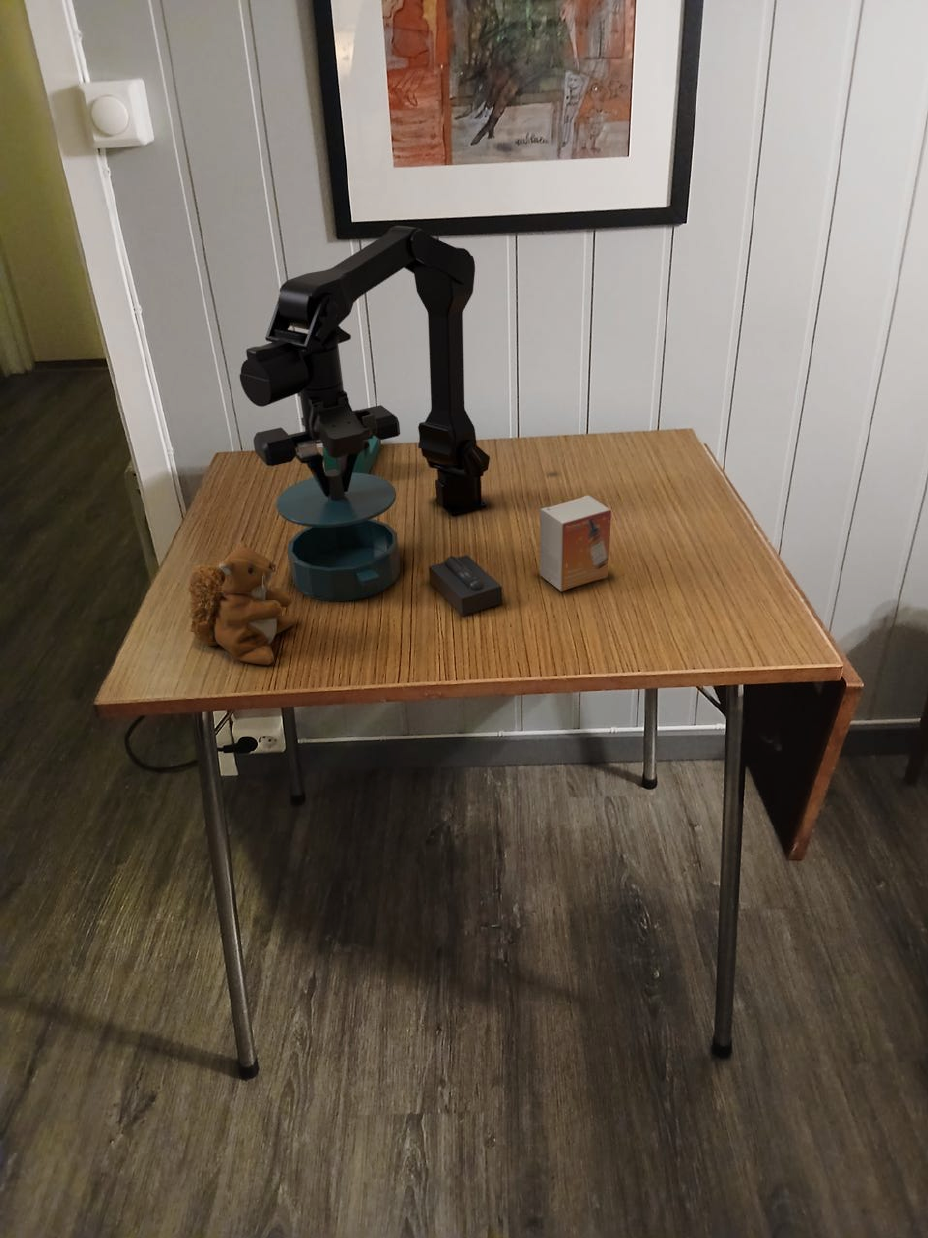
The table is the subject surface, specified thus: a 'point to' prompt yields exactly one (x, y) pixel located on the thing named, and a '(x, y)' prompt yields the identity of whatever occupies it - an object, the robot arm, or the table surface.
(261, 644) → the stuffed squirrel
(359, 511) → the lid
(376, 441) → the bracket
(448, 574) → the dark grey block
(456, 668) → the table surface
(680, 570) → the table surface
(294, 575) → the pot
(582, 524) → the small box
